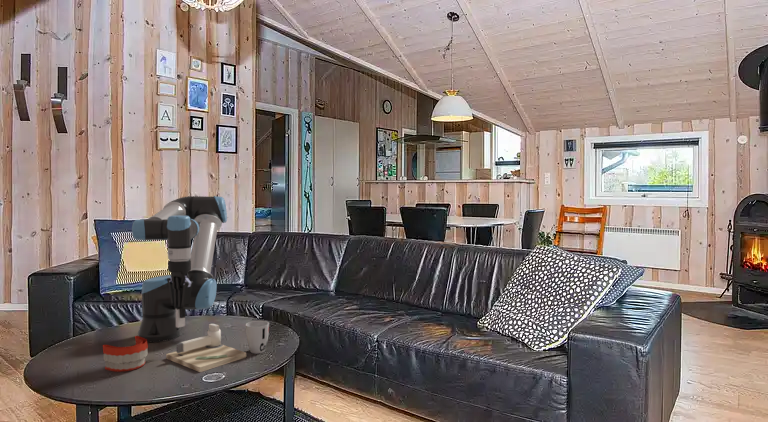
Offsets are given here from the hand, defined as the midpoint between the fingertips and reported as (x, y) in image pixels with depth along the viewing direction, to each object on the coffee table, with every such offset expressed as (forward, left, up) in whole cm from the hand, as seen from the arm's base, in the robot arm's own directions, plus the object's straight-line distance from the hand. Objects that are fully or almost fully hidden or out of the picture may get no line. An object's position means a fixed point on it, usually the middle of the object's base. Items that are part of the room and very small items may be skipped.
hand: (180, 326), depth 184 cm
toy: (-1, -18, -10) cm, 20 cm away
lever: (+6, +3, -8) cm, 10 cm away
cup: (+19, +18, -10) cm, 28 cm away
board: (+11, +3, -10) cm, 15 cm away
